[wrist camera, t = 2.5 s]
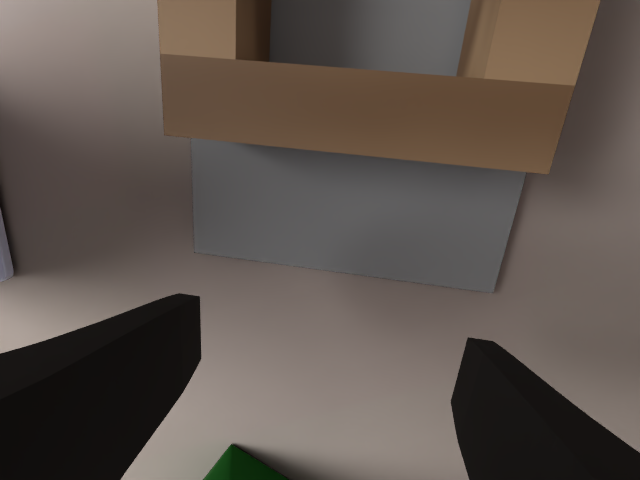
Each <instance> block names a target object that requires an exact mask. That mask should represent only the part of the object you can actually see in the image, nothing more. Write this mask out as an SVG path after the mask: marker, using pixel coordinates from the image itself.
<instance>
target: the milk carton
mask: <svg viewBox="0 0 640 480" xmlns="http://www.w3.org/2000/svg"><path fill="white" fill-rule="evenodd" d="M203 480H289V479H287V478H286V477H284V476H283V475H281V474H279V473H278V472H276V471H274V470H273V469H271V468H270V467H268V466H266V465H265V464H263V463H261V462H260V461H258V460H257V459H255V458H253V457H252V456H250V455H248V454H247V453H245V452H244V451H242V450H240V449H239V448H237V447H235V446H234V445H232V444H231V445H230V446H229V448H228V449H227V450H226V451H225V453H224V454H223V455H222V456H221V458H220V459H219V460H218V462H217V463H216V464H215V465H214V467H213V468H212V469H211V470H210V472H209V473H208V474H207V475H206V477H205V478H204V479H203Z"/></svg>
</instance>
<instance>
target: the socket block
mask: <svg viewBox="0 0 640 480" xmlns="http://www.w3.org/2000/svg"><path fill="white" fill-rule="evenodd" d="M271 1H272V0H157V3H158V23H159V42H160V62H161V81H162V101H163V120H164V135H167V136H177V137H187V138H197V139H206V140H216V141H226V142H236V143H246V144H255V145H265V146H275V147H285V148H295V149H305V150H314V151H324V152H334V153H344V154H354V155H364V156H373V157H383V158H393V159H403V160H413V161H422V162H432V163H442V164H452V165H462V166H472V167H481V168H491V169H501V170H511V171H521V172H531V173H540V174H549V171H550V168H551V164H552V161H553V158H554V154H555V151H556V148H557V144H558V141H559V138H560V134H561V131H562V128H563V124H564V121H565V118H566V114H567V111H568V108H569V104H570V101H571V98H572V94H573V91H574V88H575V84H576V81H577V78H578V74H579V71H580V68H581V64H582V61H583V58H584V54H585V51H586V47H587V44H588V41H589V37H590V34H591V31H592V27H593V24H594V21H595V17H596V14H597V11H598V7H599V4H600V1H601V0H471V3H470V8H469V13H468V19H467V24H466V29H465V34H464V39H463V44H462V49H461V54H460V59H459V64H458V69H457V74H456V76H444V75H431V74H418V73H405V72H392V71H379V70H366V69H353V68H340V67H327V66H314V65H301V64H288V63H275V62H269V52H270V26H271Z"/></svg>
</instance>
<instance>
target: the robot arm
mask: <svg viewBox="0 0 640 480" xmlns="http://www.w3.org/2000/svg"><path fill="white" fill-rule="evenodd" d="M13 274H14V270H13V265H12V260H11V256H10V251H9V246H8V241H7V237H6V232H5V227H4V222H3V218H2V213H1V208H0V281H5V280H7V279H10V278H11V277H12V276H13ZM200 360H201V327H200V296H193V295H187V294H180V293H179V294H175V295H171V296H168V297H165V298H162V299H159V300H156V301H153V302H151V303H148V304H145V305H143V306H140V307H137V308H135V309H132V310H130V311H127V312H124V313H122V314H119V315H116V316H114V317H111V318H108V319H106V320H103V321H100V322H98V323H95V324H92V325H89V326H86V327H83V328H80V329H77V330H75V331H72V332H69V333H66V334H63V335H60V336H57V337H54V338H52V339H48V340H45V341H42V342H39V343H36V344H32V345H29V346H26V347H22V348H19V349H15V350H12V351H8V352H5V353H1V354H0V480H120V479H121V478H122V476H123V475H124V473H125V472H126V471H127V469H128V468H129V466H130V465H131V464H132V462H133V461H134V460H135V458H136V457H137V455H138V454H139V453H140V451H141V450H142V449H143V447H144V446H145V444H146V443H147V442H148V440H149V439H150V438H151V436H152V435H153V433H154V432H155V431H156V429H157V428H158V427H159V425H160V424H161V422H162V421H163V420H164V418H165V417H166V415H167V414H168V413H169V411H170V410H171V408H172V407H173V406H174V404H175V403H176V401H177V400H178V399H179V397H180V396H181V394H182V393H183V391H184V390H185V388H186V386H187V384H188V383H189V381H190V379H191V377H192V375H193V373H194V372H195V370H196V368H197V366H198V364H199V362H200ZM451 406H452V412H453V418H454V424H455V429H456V434H457V439H458V443H459V447H460V450H461V454H462V457H463V460H464V463H465V467H466V470H467V473H468V477H469V480H640V453H639V452H638V451H636V450H635V449H634V448H632V447H631V446H629V445H628V444H626V443H625V442H624V441H622V440H621V439H620V438H618V437H617V436H616V435H614V434H613V433H611V432H610V431H609V430H607V429H606V428H605V427H603V426H602V425H600V424H599V423H598V422H596V421H595V420H594V419H592V418H591V417H590V416H588V415H587V414H586V413H584V412H583V411H582V410H580V409H579V408H578V407H577V406H575V405H574V404H573V403H571V402H570V401H569V400H568V399H566V398H565V397H564V396H562V395H561V394H560V393H559V392H557V391H556V390H555V389H554V388H552V387H551V386H550V385H549V384H547V383H546V382H545V381H544V380H542V379H541V378H540V377H539V376H537V375H536V374H535V373H534V372H532V371H531V370H530V369H529V368H527V367H526V366H525V365H524V364H523V363H521V362H520V361H519V360H518V359H516V358H515V357H514V356H512V355H511V354H510V353H509V352H507V351H506V350H505V349H503V348H502V347H501V346H499V345H498V344H496V343H495V342H493V341H488V340H482V339H475V338H469V337H468V339H467V342H466V346H465V350H464V354H463V358H462V361H461V365H460V369H459V373H458V377H457V380H456V384H455V388H454V392H453V395H452V399H451Z"/></svg>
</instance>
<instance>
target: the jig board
mask: <svg viewBox="0 0 640 480" xmlns="http://www.w3.org/2000/svg"><path fill="white" fill-rule="evenodd" d="M470 3H471V0H272V1H271V26H270V52H269V62H275V63H288V64H301V65H314V66H327V67H340V68H353V69H366V70H379V71H392V72H405V73H418V74H431V75H444V76H456V74H457V69H458V64H459V59H460V54H461V49H462V44H463V39H464V34H465V29H466V24H467V19H468V13H469V8H470ZM191 160H192V195H193V231H194V253H200V254H208V255H215V256H222V257H230V258H237V259H244V260H252V261H259V262H266V263H274V264H281V265H288V266H296V267H303V268H310V269H318V270H325V271H332V272H340V273H347V274H354V275H362V276H369V277H376V278H384V279H391V280H398V281H406V282H413V283H420V284H428V285H435V286H442V287H450V288H457V289H464V290H472V291H479V292H486V293H493V292H494V288H495V284H496V281H497V277H498V274H499V270H500V266H501V263H502V259H503V256H504V252H505V248H506V245H507V241H508V238H509V234H510V231H511V227H512V223H513V220H514V216H515V213H516V209H517V205H518V202H519V198H520V195H521V191H522V187H523V184H524V180H525V177H526V173H527V172H521V171H511V170H501V169H491V168H481V167H472V166H462V165H452V164H442V163H432V162H422V161H413V160H403V159H393V158H383V157H373V156H364V155H354V154H344V153H334V152H324V151H314V150H305V149H295V148H285V147H275V146H265V145H255V144H246V143H236V142H226V141H216V140H206V139H197V138H191Z"/></svg>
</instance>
